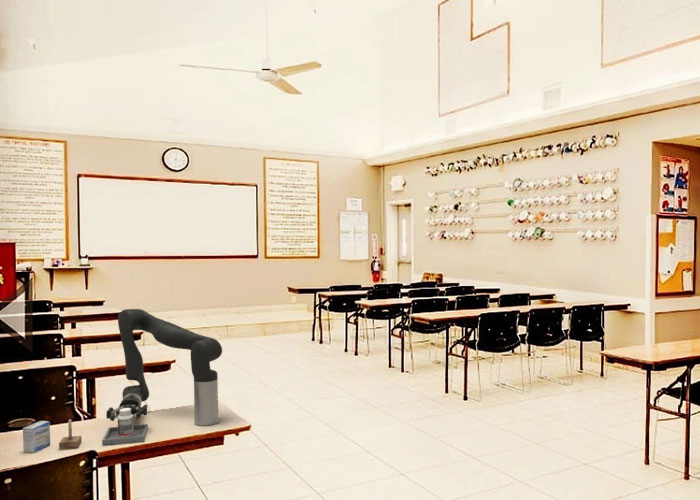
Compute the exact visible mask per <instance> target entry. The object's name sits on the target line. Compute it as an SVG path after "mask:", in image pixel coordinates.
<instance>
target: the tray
mask: <svg viewBox="0 0 700 500" xmlns="http://www.w3.org/2000/svg"><path fill="white" fill-rule="evenodd" d="M133 430H134V432H133V435H132V436H130V437H125V438H121V437H119V436H118V426H113V427H112V426H111V427H108V429H107V431H106V432H105V434H104V436H103V438H102V440H101V443H102V444H101V445H102V447H105V446H114V445H115V446H117V445H124V444H125V445H126V444H136V443H138V444H139V443H144V442H145V439H146V437H147V433H148V430H149V424H148V423H145V424H135V425H134V424H133Z"/></svg>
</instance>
